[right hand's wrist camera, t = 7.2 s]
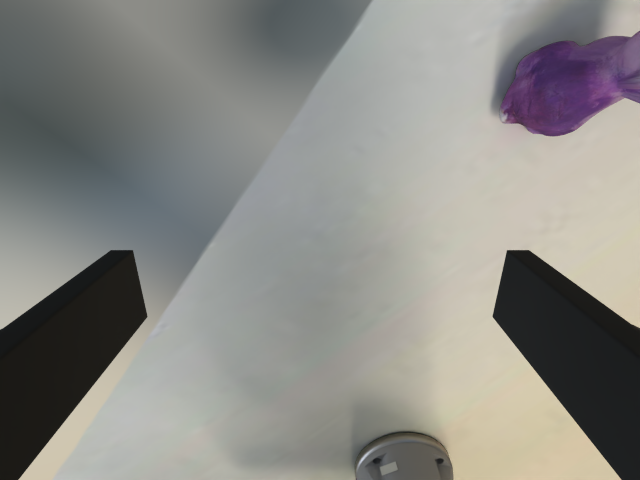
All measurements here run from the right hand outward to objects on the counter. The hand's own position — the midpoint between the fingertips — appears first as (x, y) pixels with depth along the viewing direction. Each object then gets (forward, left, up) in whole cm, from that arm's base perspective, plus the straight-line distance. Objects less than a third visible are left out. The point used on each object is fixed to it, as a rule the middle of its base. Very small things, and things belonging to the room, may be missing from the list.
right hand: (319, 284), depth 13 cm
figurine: (+8, -23, -28) cm, 37 cm away
